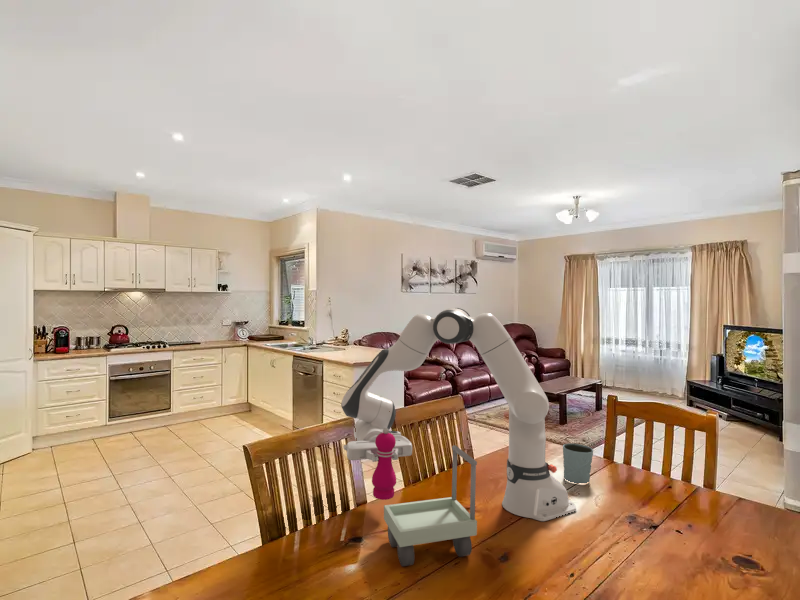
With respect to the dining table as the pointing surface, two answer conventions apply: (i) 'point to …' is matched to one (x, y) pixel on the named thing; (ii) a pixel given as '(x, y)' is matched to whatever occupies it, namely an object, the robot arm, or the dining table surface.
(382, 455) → the pepper mill
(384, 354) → the robot arm
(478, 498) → the dining table surface
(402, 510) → the serving trolley
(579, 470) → the grey cup
